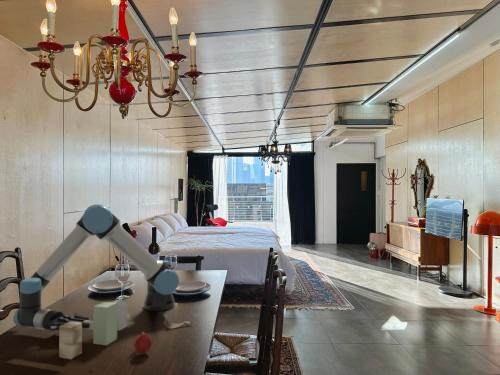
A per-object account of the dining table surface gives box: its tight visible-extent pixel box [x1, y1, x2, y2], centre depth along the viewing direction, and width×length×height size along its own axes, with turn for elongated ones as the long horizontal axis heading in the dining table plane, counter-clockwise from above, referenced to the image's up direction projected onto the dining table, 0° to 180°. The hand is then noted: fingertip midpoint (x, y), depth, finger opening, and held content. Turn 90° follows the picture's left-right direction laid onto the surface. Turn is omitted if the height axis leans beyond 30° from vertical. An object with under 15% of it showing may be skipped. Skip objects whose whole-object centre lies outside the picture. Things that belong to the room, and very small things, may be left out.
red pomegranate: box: [134, 331, 153, 356], centre depth 127 cm, size 6×6×8 cm
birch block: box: [58, 321, 83, 360], centre depth 123 cm, size 5×5×12 cm
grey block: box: [113, 299, 128, 331], centre depth 149 cm, size 5×5×12 cm
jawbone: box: [163, 313, 192, 330], centre depth 157 cm, size 9×20×2 cm, turn 48°
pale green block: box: [92, 301, 118, 346], centre depth 135 cm, size 6×6×14 cm
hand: (98, 325), depth 136 cm, fingers closed
